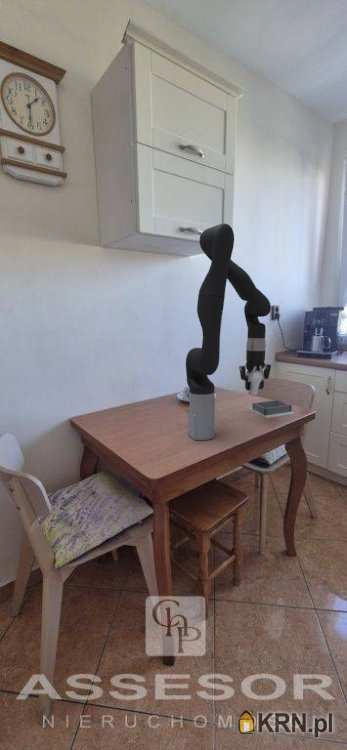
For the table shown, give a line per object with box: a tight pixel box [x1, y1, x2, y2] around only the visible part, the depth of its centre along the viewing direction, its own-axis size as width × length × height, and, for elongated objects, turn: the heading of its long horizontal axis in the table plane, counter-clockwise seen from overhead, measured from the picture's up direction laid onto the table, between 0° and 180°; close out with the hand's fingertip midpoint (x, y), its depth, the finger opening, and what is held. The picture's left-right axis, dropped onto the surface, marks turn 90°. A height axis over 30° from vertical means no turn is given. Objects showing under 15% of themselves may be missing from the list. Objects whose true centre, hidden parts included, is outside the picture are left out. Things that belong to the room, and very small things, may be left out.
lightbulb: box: [248, 370, 263, 396], centre depth 132 cm, size 6×6×11 cm
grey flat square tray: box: [248, 399, 297, 419], centre depth 146 cm, size 15×15×3 cm
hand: (254, 389), depth 132 cm, fingers closed on lightbulb, 5 cm apart
